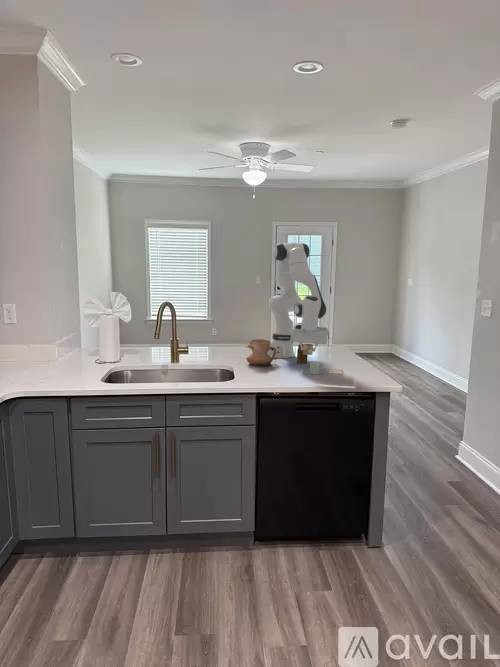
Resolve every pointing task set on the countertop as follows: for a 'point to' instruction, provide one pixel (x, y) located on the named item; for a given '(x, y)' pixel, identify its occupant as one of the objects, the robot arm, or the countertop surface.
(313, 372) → the sage block
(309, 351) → the maple block
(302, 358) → the condiment
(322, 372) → the grey flat slab
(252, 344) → the ceramic jug
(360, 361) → the countertop surface
